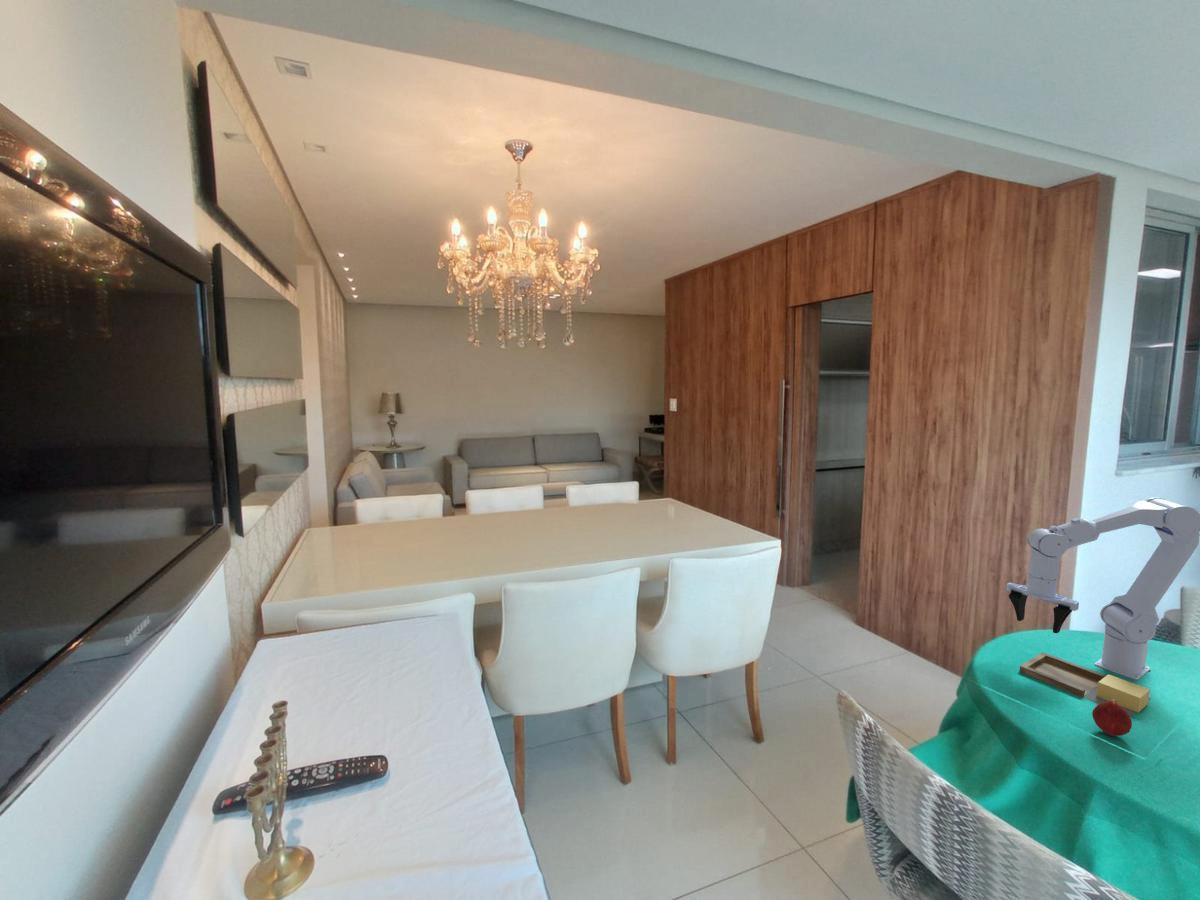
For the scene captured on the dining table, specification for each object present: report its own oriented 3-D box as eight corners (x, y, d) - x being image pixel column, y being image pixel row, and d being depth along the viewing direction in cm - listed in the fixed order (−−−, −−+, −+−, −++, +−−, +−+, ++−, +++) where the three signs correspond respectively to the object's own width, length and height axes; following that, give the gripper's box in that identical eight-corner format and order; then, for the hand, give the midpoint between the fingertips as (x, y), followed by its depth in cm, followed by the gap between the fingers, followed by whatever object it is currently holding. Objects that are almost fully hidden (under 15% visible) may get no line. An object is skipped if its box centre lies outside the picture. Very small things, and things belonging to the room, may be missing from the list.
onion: (1137, 746, 104) (1142, 710, 103) (1103, 743, 105) (1108, 707, 104) (1115, 727, 110) (1120, 692, 108) (1083, 724, 111) (1087, 690, 110)
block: (1106, 687, 123) (1108, 674, 122) (1148, 703, 116) (1150, 689, 116) (1096, 695, 120) (1098, 682, 119) (1138, 712, 114) (1140, 698, 113)
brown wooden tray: (1042, 658, 136) (1042, 652, 136) (1103, 681, 125) (1104, 674, 125) (1019, 672, 130) (1019, 665, 130) (1082, 698, 119) (1082, 691, 119)
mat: (1104, 681, 125) (1104, 680, 125) (1150, 699, 118) (1150, 698, 118) (1082, 698, 119) (1082, 697, 119) (1130, 717, 112) (1130, 716, 112)
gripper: (1002, 570, 137) (998, 618, 139) (1072, 589, 124) (1066, 642, 126) (1015, 565, 140) (1010, 612, 142) (1084, 583, 127) (1078, 634, 129)
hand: (1037, 625), depth 134 cm, fingers open, 7 cm apart
